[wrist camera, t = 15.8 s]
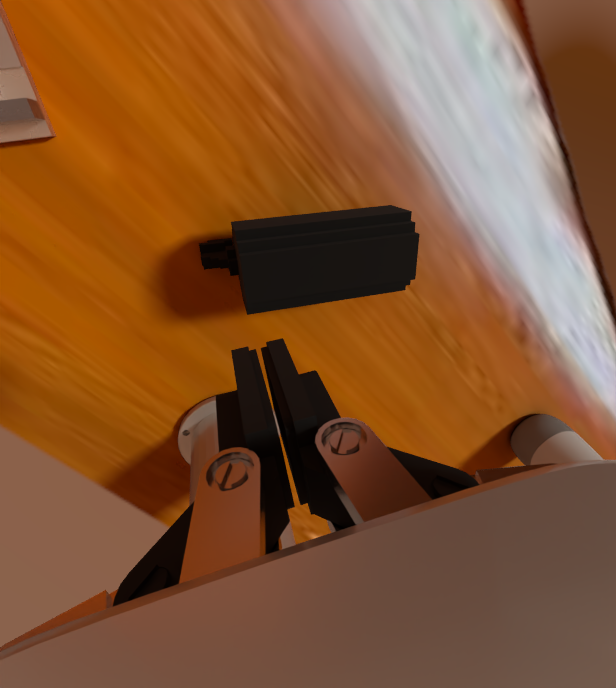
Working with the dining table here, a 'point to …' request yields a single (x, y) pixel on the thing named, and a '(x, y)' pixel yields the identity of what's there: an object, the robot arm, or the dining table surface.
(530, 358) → the dining table surface
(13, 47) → the rail board
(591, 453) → the smart speaker
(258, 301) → the security camera
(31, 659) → the robot arm
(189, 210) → the dining table surface
